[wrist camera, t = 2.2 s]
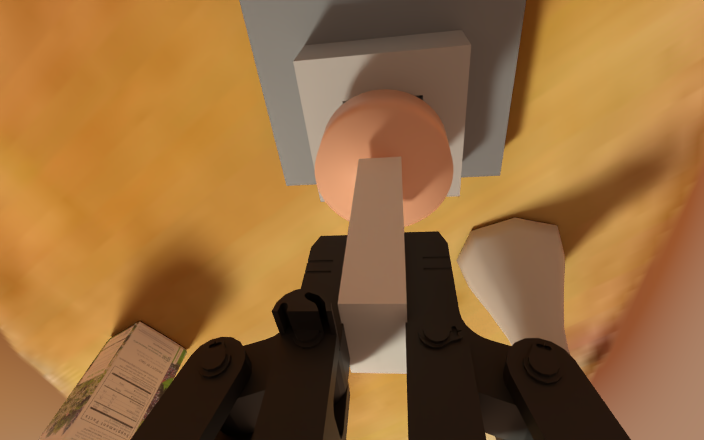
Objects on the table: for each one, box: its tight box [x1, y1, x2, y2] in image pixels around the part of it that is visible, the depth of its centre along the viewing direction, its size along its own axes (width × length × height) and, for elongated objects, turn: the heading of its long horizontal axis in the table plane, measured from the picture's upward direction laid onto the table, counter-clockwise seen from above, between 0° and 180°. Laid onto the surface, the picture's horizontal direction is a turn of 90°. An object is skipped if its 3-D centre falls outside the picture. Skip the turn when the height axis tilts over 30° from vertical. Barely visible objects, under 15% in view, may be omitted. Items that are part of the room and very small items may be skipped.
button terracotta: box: [315, 89, 453, 227], centre depth 16 cm, size 5×5×4 cm
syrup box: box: [38, 322, 187, 440], centre depth 32 cm, size 6×6×14 cm
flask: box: [457, 218, 570, 354], centre depth 23 cm, size 7×7×10 cm
